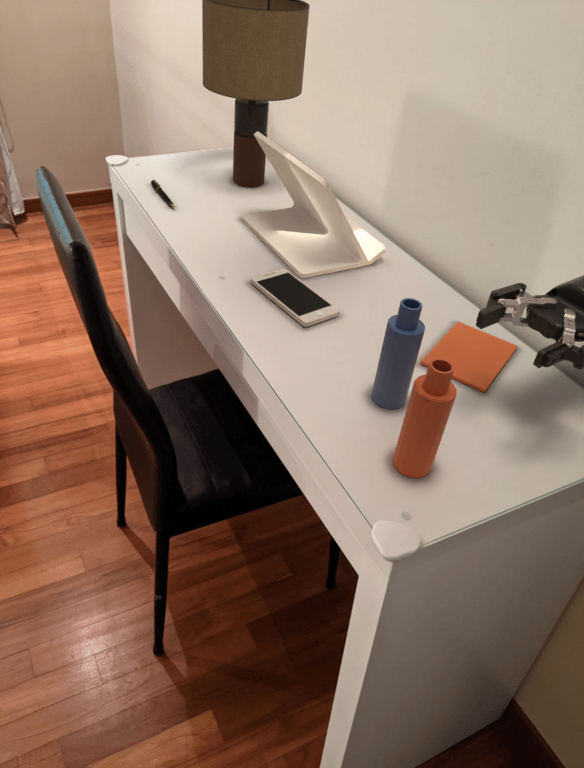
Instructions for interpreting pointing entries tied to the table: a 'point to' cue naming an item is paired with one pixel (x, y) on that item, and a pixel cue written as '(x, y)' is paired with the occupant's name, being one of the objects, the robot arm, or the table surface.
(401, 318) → the blue bottle
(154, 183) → the fountain pen
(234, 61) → the lamp
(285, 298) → the smartphone
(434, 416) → the terracotta bottle
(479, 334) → the terracotta mat
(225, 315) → the table surface
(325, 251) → the tablet stand
